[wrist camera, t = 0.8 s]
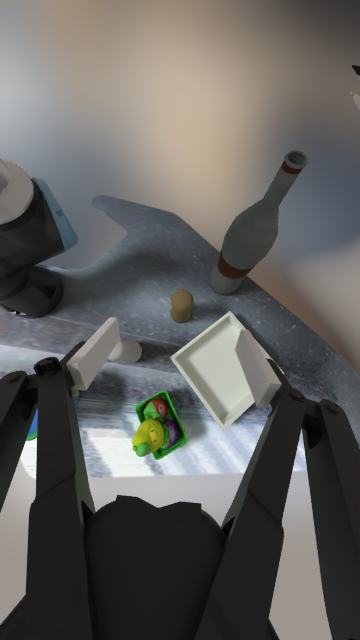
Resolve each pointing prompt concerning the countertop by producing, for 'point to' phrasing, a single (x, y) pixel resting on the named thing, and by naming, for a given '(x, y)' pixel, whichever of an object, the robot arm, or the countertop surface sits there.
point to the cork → (181, 306)
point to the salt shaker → (126, 351)
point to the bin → (217, 370)
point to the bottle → (254, 230)
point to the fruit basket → (158, 427)
